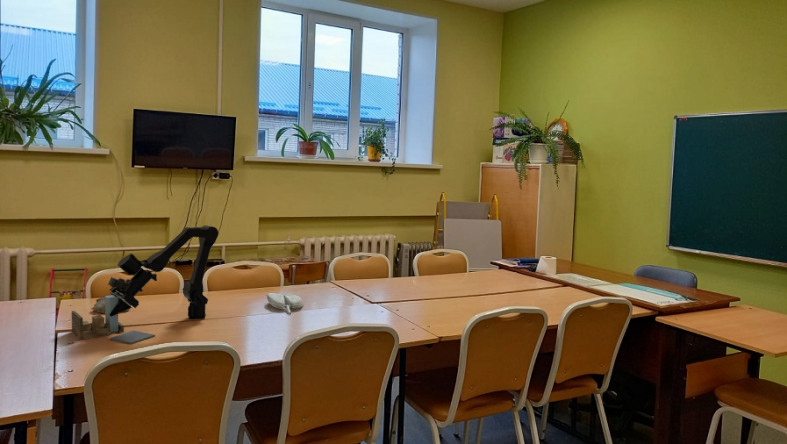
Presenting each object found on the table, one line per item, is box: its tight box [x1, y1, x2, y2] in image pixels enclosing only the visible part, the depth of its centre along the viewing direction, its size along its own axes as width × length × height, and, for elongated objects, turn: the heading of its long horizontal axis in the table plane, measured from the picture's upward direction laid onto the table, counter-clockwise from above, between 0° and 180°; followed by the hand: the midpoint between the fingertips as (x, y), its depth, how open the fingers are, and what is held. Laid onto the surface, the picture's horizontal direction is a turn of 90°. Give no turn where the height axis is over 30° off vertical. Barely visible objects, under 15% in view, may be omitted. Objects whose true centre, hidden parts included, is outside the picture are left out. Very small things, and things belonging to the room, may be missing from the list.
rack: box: [71, 310, 125, 340], centre depth 220 cm, size 15×12×8 cm
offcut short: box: [83, 320, 91, 332], centre depth 217 cm, size 3×5×4 cm, turn 42°
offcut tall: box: [91, 314, 105, 330], centre depth 220 cm, size 3×5×6 cm, turn 41°
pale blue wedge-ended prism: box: [104, 294, 119, 333], centre depth 223 cm, size 3×6×13 cm, turn 41°
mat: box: [108, 330, 156, 345], centre depth 215 cm, size 11×11×1 cm
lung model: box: [265, 292, 304, 315], centre depth 268 cm, size 7×17×25 cm
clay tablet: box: [93, 296, 131, 314], centre depth 257 cm, size 14×5×20 cm
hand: (107, 313), depth 222 cm, fingers closed on pale blue wedge-ended prism, 6 cm apart
